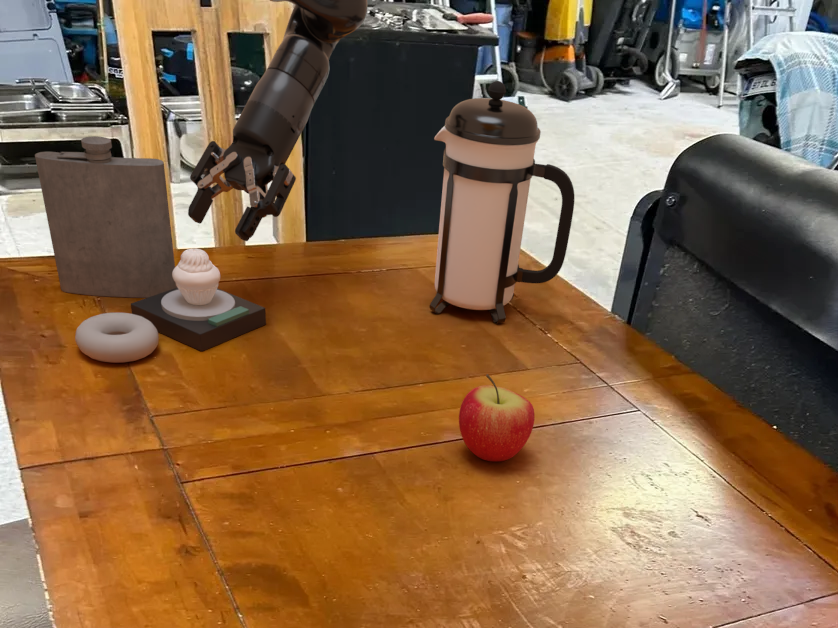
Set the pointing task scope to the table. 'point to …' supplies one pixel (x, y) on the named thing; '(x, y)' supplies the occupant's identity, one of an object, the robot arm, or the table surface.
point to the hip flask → (108, 221)
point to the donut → (116, 337)
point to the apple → (495, 422)
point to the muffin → (196, 277)
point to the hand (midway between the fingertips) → (216, 228)
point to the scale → (200, 317)
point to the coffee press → (490, 204)
